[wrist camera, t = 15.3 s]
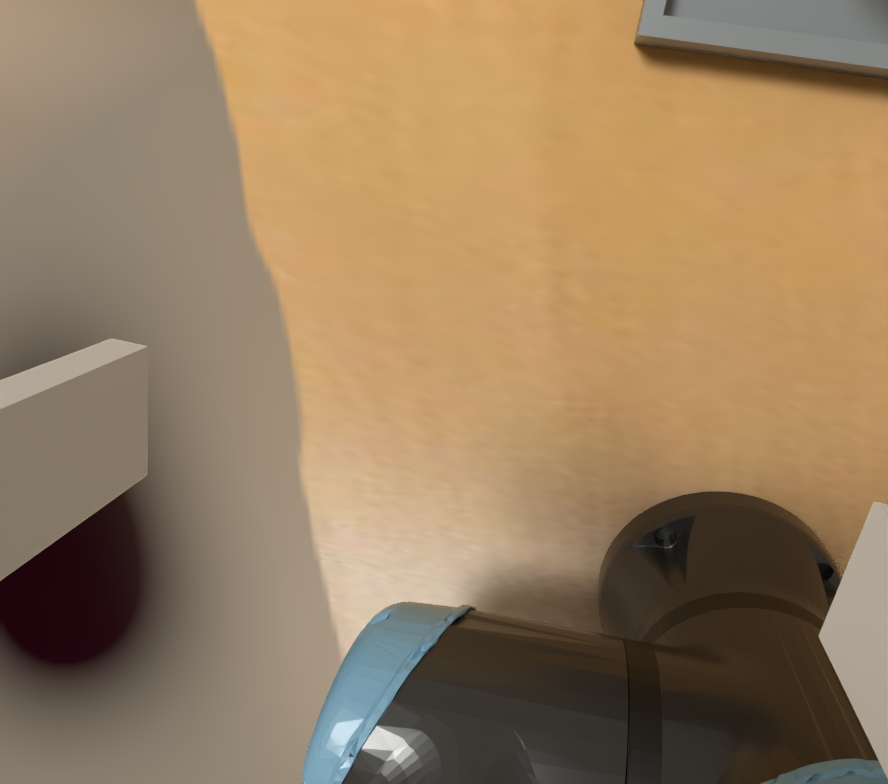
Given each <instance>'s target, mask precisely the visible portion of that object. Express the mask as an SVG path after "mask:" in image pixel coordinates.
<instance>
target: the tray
mask: <svg viewBox="0 0 888 784" xmlns="http://www.w3.org/2000/svg"><path fill="white" fill-rule="evenodd" d="M634 44H639V45H646V46H653V47H660V48H668V49H675V50H682V51H689V52H697V53H704V54H711V55H718V56H726V57H733V58H740V59H747V60H754V61H762V62H769V63H776V64H783V65H791V66H798V67H805V68H812V69H819V70H827V71H834V72H841V73H848V74H856V75H863V76H870V77H877V78H884V79H888V0H644V1H643V6H642V10H641V15H640V19H639V24H638V28H637V33H636V37H635V42H634Z"/></svg>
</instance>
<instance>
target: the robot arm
mask: <svg viewBox="0 0 888 784" xmlns="http://www.w3.org/2000/svg"><path fill="white" fill-rule="evenodd" d="M147 425H148V346H144V345H140V344H135V343H130V342H126V341H121V340H116V339H109V340H106V341H103V342H101V343H98V344H95V345H93V346H90V347H87V348H85V349H82V350H79V351H77V352H74V353H72V354H69V355H66V356H63V357H61V358H58V359H56V360H53V361H51V362H48V363H45V364H42V365H40V366H37V367H35V368H32V369H29V370H27V371H24V372H21V373H18V374H16V375H13V376H10V377H8V378H5V379H3V380H0V581H1V580H2V579H3V578H5V577H6V576H8V575H9V574H10V573H12V572H13V571H14V570H16V569H17V568H19V567H20V566H21V565H23V564H24V563H26V562H27V561H28V560H30V559H31V558H32V557H34V556H35V555H37V554H38V553H40V552H41V551H42V550H44V549H45V548H46V547H48V546H49V545H51V544H52V543H54V542H55V541H56V540H58V539H59V538H60V537H62V536H63V535H65V534H66V533H67V532H69V531H70V530H72V529H73V528H74V527H76V526H77V525H79V524H80V523H81V522H82V521H84V520H86V519H87V518H88V517H90V516H91V515H92V514H94V513H95V512H97V511H98V510H99V509H101V508H102V507H104V506H105V505H106V504H107V503H109V502H111V501H112V500H113V499H115V498H116V497H118V496H119V495H120V494H122V493H123V492H124V491H126V490H127V489H128V488H130V487H131V486H133V485H134V484H136V483H137V482H138V481H140V480H141V479H143V478H144V477H145V476H147V438H148V437H147V436H148V435H147V434H148V426H147ZM598 594H599V613H600V620H601V624H602V628H603V631H604V634H600V633H594V632H589V631H583V630H578V629H572V628H567V627H561V626H556V625H551V624H545V623H540V622H534V621H529V620H523V619H518V618H512V617H507V616H501V615H496V614H490V613H485V612H479V611H477V610H476V608H475V607H473V606H469V605H462V606H460V607H458V608H456V607H448V606H440V605H432V604H424V603H416V602H401V603H397V604H393V605H391V606H389V607H387V608H385V609H383V610H382V611H381V612H379V613H378V614H377V615H375V616H374V617H373V618H372V619H371V621H370V622H369V623H368V624H367V625H366V627H365V628H364V629H363V630H362V631H361V633H360V634H359V635H358V637H357V638H356V640H355V641H354V643H353V645H352V646H351V648H350V650H349V651H348V653H347V655H346V657H345V659H344V660H343V662H342V664H341V666H340V668H339V670H338V673H337V675H336V677H335V679H334V681H333V683H332V685H331V688H330V690H329V692H328V695H327V697H326V700H325V702H324V705H323V707H322V710H321V712H320V715H319V718H318V721H317V723H316V726H315V729H314V733H313V735H312V738H311V741H310V744H309V747H308V751H307V754H306V758H305V761H304V765H303V771H302V778H303V783H302V784H888V504H884V503H879V502H873V504H872V507H871V509H870V512H869V514H868V517H867V519H866V521H865V524H864V526H863V529H862V531H861V534H860V536H859V538H858V541H857V543H856V546H855V548H854V551H853V553H852V556H851V558H850V560H849V563H848V565H847V568H846V570H845V573H844V575H843V577H842V579H841V576H840V574H839V571H838V569H837V567H836V565H835V564H834V562H833V560H832V559H831V557H830V555H829V554H828V552H827V550H826V549H825V547H824V546H823V544H822V542H821V541H820V540H819V538H818V537H817V536H816V534H815V533H814V532H813V531H812V530H811V529H810V528H809V527H808V526H807V525H806V524H805V523H804V522H802V521H801V520H800V519H799V518H797V517H796V516H794V515H793V514H791V513H790V512H788V511H787V510H785V509H783V508H781V507H779V506H777V505H775V504H773V503H771V502H768V501H766V500H763V499H760V498H757V497H753V496H749V495H744V494H739V493H731V492H701V493H694V494H688V495H683V496H679V497H676V498H673V499H670V500H667V501H664V502H662V503H660V504H657V505H655V506H653V507H651V508H649V509H648V510H646V511H644V512H643V513H641V514H640V515H638V516H637V517H636V518H634V519H633V520H632V521H631V522H630V523H628V524H627V525H626V526H625V527H624V528H623V529H622V531H621V532H620V533H619V534H618V535H617V537H616V538H615V539H614V541H613V542H612V544H611V545H610V547H609V549H608V551H607V553H606V555H605V557H604V560H603V563H602V566H601V570H600V574H599V584H598Z"/></svg>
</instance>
